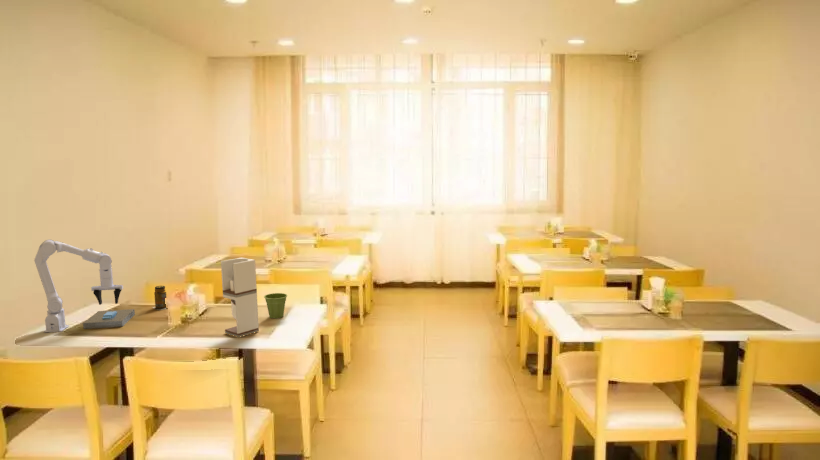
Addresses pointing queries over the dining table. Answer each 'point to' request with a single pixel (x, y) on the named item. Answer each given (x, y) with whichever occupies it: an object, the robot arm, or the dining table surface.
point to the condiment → (160, 298)
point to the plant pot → (275, 304)
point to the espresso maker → (241, 294)
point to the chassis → (116, 321)
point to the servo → (109, 315)
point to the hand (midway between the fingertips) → (108, 303)
